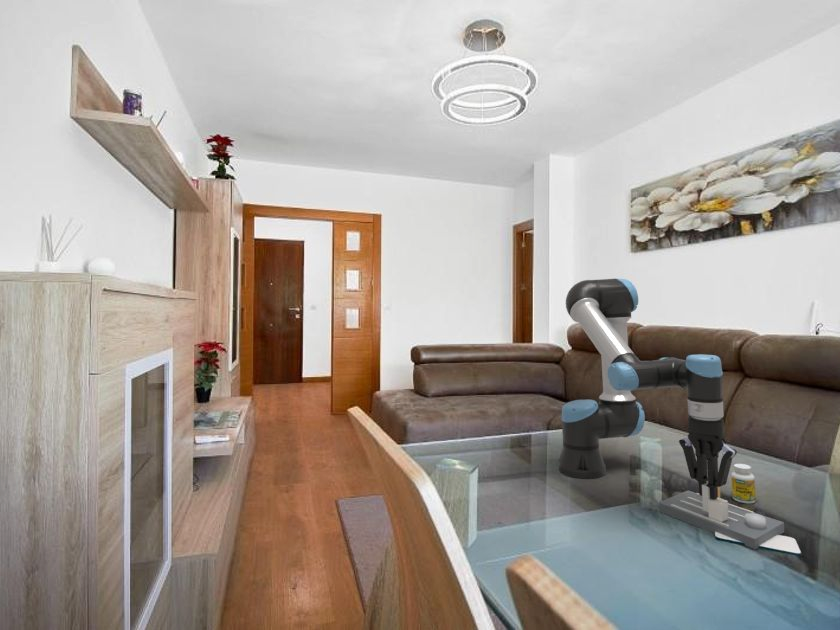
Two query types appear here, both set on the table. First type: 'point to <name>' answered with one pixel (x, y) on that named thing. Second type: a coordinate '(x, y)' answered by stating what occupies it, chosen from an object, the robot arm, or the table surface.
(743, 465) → the supplement bottle
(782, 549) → the smartphone
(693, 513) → the console
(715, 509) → the slider ivory
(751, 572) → the table surface
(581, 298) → the robot arm
